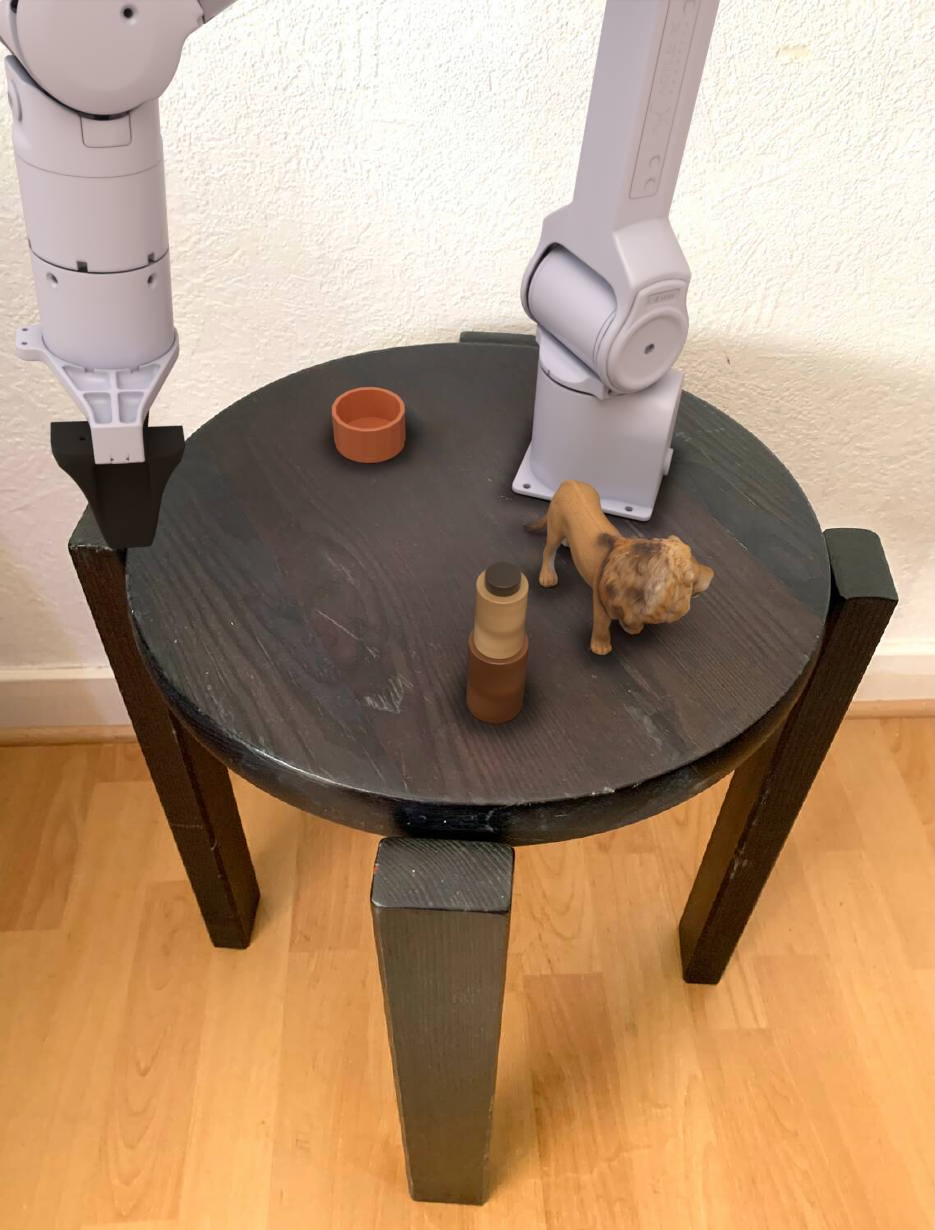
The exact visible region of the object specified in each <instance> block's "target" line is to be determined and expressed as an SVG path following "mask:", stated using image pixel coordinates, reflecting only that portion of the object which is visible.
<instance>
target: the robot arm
mask: <svg viewBox="0 0 935 1230" xmlns="http://www.w3.org/2000/svg"><path fill="white" fill-rule="evenodd" d="M238 1H239V0H0V43H1V44H2V45H3V46H4V47H5V48H6V49H7V50H8V52H9V53H10V54H8V55H6V56H4V57H3V63H4V64H3V65H4V71H5V76H6V82H7V89H6V90H7V92H6V93H7V99H8V105H9V108H10V110H11V116H12V124H11V141H12V148H13V154H14V161H15V168H16V173H17V180H18V187H19V194H20V199H21V206H22V213H23V218H24V225H25V226H24V227H25V232H26V237H27V243H28V250H29V256H30V262H31V269H32V275H33V282H34V289H35V295H36V301H37V307H38V314H39V322H40V323H39V324H25V325H21V326H19V327H17V328H16V330H15V340H14V344H15V350H16V355H17V357H18V359H20V360H22V361H25V362H26V361H27V362H40V363H43V364H45V366H47V367H48V369H49V370H50V371H51V372H52V374H53V376H54V377H55V379H57V381H58V382H59V384H60V385H61V386H62V388H63V389H64V390H65V392H66V393H67V394H68V396H69V397H70V398H71V400H72V401H73V402H74V404H75V405H76V406H77V408H78V410H79V411H80V412H81V413H82V415H83V416H84V418H85V420H72V421H71V420H70V421H68V420H67V421H51V422H50V424H49V425H50V431H49V434H50V438H49V440H50V441H49V442H50V449H51V453H52V456H53V458H54V460H55V462H56V464H57V465H58V467H59V468H60V469H61V470H62V471H63V472H65V474H67V475H68V476H69V477H70V479H72V480H73V482H75V484H76V485H77V487H79V490H80V491H81V493H82V494H83V495H84V497H85V499H86V501H87V504H88V505H89V507H90V510H91V512H92V514H93V517H94V519H95V522H96V524H97V528H99V529H98V530H99V531H100V534H101V536H102V538H103V540H104V542H105V543H106V545H107V547H108V548H109V549H111V550H117V549H118V550H119V549H133V548H148V547H151V546H152V545H153V543H154V540H155V537H156V533H157V530H158V529H157V528H158V523H159V517H160V512H161V511H160V510H161V505H162V499H163V495H164V492H165V489H166V487H167V484H168V482H169V480H170V478H171V476H172V474H173V473H174V471H175V470H176V468H177V467H178V466H179V464H181V462H182V460H183V456H184V453H185V450H186V440H185V433H184V426H183V425H181V424H180V425H155V426H153V425H152V426H151V425H150V426H149V422H150V409H151V407H152V406H153V404H154V402H155V400H156V399H157V397H158V395H159V393H160V391H161V390H162V388H163V386H164V384H165V382H166V380H167V379H168V377H169V376H170V373H171V372H172V370H173V368H174V366H175V364H176V363H177V361H178V359H179V356H180V350H181V349H180V336H179V332H178V330H177V328H176V326H175V324H174V323H175V322H174V306H173V305H174V304H173V292H172V276H171V275H172V274H171V255H170V240H169V239H170V238H169V221H168V206H167V189H166V173H165V172H166V171H165V157H164V156H165V155H164V140H163V136H162V132H161V118H160V100H159V98H160V97H161V96H163V95H164V93H165V92H166V91H167V89H168V87H169V86H170V84H171V83H172V81H173V80H174V77H175V75H176V73H177V70H178V67H179V66H180V62H181V57H182V53H183V48H184V45H185V42H186V41H187V39H188V37H189V36H191V34H194V33H195V32H196V31H197V30H199V29H200V28H203V26H204V25H206V24H207V23H209V22H210V21H211V20H213V19H214V18H215V17H218V15H220V14H221V13H222V12H224V11H225V10H227V9H228V8H229V7H231V6H232V5H234V4H235V3H236V2H238ZM720 1H721V0H606V1H605V6H604V12H603V17H602V23H601V30H600V36H599V42H598V48H597V53H596V54H597V55H596V58H595V59H596V60H595V64H594V65H595V66H594V72H593V77H592V83H591V90H590V94H589V101H588V106H587V112H586V117H585V125H584V129H583V130H584V131H583V135H582V141H581V142H582V143H581V147H580V154H579V159H578V165H577V171H576V176H575V184H574V189H573V193H572V194H573V195H572V201H570V203H568V204H565V205H564V206H562V207H561V206H560V207H559V208H558V209H555V210H553V211H552V212H550V213H549V214H547V215H546V216H544V218H543V220H542V227H541V232H540V238H539V241H538V244H537V247H536V249H535V251H534V254H533V255H532V257H531V258H530V260H529V262H528V264H527V266H526V268H525V270H524V273H523V275H522V279H521V282H520V288H519V289H520V290H519V294H520V295H519V297H520V303H521V306H522V309H523V312H524V313H525V314H526V316H527V317H528V318H529V319H530V320H532V321H533V322H534V323H536V329H535V342H536V343H537V344H538V346H539V352H538V362H537V375H536V376H537V377H536V387H535V397H534V398H535V399H534V409H533V410H534V411H533V421H532V432H531V433H532V434H531V441H530V443H529V445H528V447H527V450H526V452H525V454H524V456H523V459H522V461H521V464H520V466H519V468H518V470H517V473H516V475H515V477H514V479H513V481H512V484H511V485H512V486H511V489H512V491H513V492H514V493H516V494H519V495H524V496H528V497H532V498H537V499H542V500H546V501H550V502H551V500H552V497H553V495H554V494H555V492H556V491H557V490H558V488H559V486H560V485H561V483H562V482H563V481H565V480H569V479H572V480H575V481H577V482H584V483H587V484H589V485H590V486H592V487H593V488H594V489H595V490H596V491H597V492H598V494H599V497H600V503H601V508H602V511H603V513H604V514H609V515H614V516H617V517H621V518H622V517H623V518H626V519H630V520H631V519H632V520H634V521H635V520H636V521H641V522H647V521H649V520H650V519H651V517H652V514H653V512H654V507H655V505H656V504H655V503H656V500H657V497H658V493H659V490H660V487H661V484H662V480H663V476H668V474H669V471H670V466H671V464H672V463H671V462H672V458H673V454H674V449H673V448H671V445H672V439H673V435H674V431H675V426H676V420H677V416H678V412H679V408H680V403H681V398H682V397H681V396H682V392H683V388H684V383H685V382H684V381H685V376H686V373H685V372H683V371H681V370H678V369H676V368H673V366H674V365H675V364H676V362H677V360H678V359H679V357H680V355H681V354H682V351H683V349H684V347H685V344H686V342H687V338H688V335H689V328H690V316H689V312H688V306H687V300H688V299H687V298H688V297H687V296H688V291H689V287H690V283H691V279H692V272H691V269H690V265H689V263H688V261H687V259H686V256H685V253H684V252H683V249H682V247H681V245H680V243H679V241H678V238H677V236H676V234H675V231H674V230H673V227H672V224H671V221H670V218H669V217H670V211H671V208H672V203H673V200H674V195H675V191H676V187H677V182H678V178H679V174H680V170H681V165H682V161H683V157H684V153H685V148H686V146H687V145H686V144H687V140H688V136H689V132H690V128H691V125H692V119H693V116H694V111H695V107H696V103H697V98H698V94H699V90H700V87H701V82H702V77H703V73H704V69H705V65H706V60H707V56H708V53H709V49H710V44H711V40H712V37H713V31H714V27H715V23H716V19H717V14H718V11H719V6H720Z"/></svg>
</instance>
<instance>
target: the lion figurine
mask: <svg viewBox="0 0 935 1230" xmlns="http://www.w3.org/2000/svg"><path fill="white" fill-rule="evenodd" d="M545 526H546V533H547V534H546V545H545V547H544V548H543V551H542V565H541V568H540V572H539V577H538V582H539V585H541V586H542V587H544V588H551V587H554V586H556V585H557V584H558V580H559V577H558V574H557V573H556V570H555V558H556V556H557V550H558V549H559V547H560V546H561V545H563V546H564V547H565V548H566V547H567V548H569V549H570V553H571V557H572V560H573V563H574V565H575V568H576V569H577V571H578V574H579V575H580V576H581V578H582V579H583V580H584V581H585V583H586V584H587V585H588V586H589V587H590V588H591V589H592V592H593V593H592V603H593V605H592V608H593V613H592V614H593V615H592V619H593V624H592V633H591V639H590V650H591V652H592V653H594V654H595V655H598V656H605V655H607V654H609V653H610V652H611V651H612V649H613V648H612V644H611V640H612V637H611V634H610V633H611V632H610V626H611V623H612V620H618V621H619V625H620V626H621V628H622V629H623V630H624V631H625V632H626V633H628V634H630V635H637V634H640V633H641V631H642V630H643V629H644V625H648V624H649V625H650V624H652V625H653V624H654V625H658V624H662V623H667V624H671V623H674V622H676V621H679V620H680V619H681V618H683V617H684V616H685V615H686V614H688V612H689V611H690V610H691V599H697V597H698V596H699V595H700V593H701V592H705V591H707V589H708V588H709V587H710V584H711V582H712V580H713V578H714V576H715V575H714V571H713V569H712V568H711V567H710V566H706V565H703V564H701V563H699V562H698V561H697V559H696V558H695V557H694V556H693V555H692V552H691V551H692V549H691V547H690V546H689V545H688V544H686V543H684V542H683V541H682V540H681V539H680V537H679V536H676V535H673V534H672V535H669V536H668V538H657V537H654V538H652V539H651V540H650V539H646V538H632V537H629V538H627V537H624V536H623V535H622V534H621V533H620V531H619V530H618V529H617V528H616V526H614V525H613V524H612V523H611V522H610V520H609V519H608V518H607V517H606V515H605V513H604V512H603V511H602V508H601V503H600V497H599V494H598V492H597V491H596V490H595V489H594V488H593V487H592V486H590V485H589V484H587V483H584V482H577V481H575V480H572V479H569V480H565V481H563V482H562V483H561V485H560V486H559V488H558V490H557V491H556V492H555V494H554V495H553V497H552V500H551V501H550V503H549V506H548V510H547V512H546V514H545V515H544V516H542V517H541V518H539V519H537V520H529V521H525V522H522V527H524V528H525V530H526V531H528V532H536V531H539V530H541V529H543V528H544V527H545Z"/></svg>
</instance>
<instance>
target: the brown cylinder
mask: <svg viewBox="0 0 935 1230" xmlns="http://www.w3.org/2000/svg"><path fill="white" fill-rule="evenodd" d="M467 639H468V640H467V666H466V671H467V672H466V693H465V694H466V697H465V698H466V699H465V701H466V706H467V709H468V711H469V712H470V713H471V714H472V716H474V717H475V718H476V719H477V720H480V721H482V722H484V723H488V724H494V725H495V724H504V723H507V722H509V721H511V720H514V719H515V718H516V717H517V716H518V715H519V714H520V712H521V711H522V709H523V706H524V697H525V687H526V676H527V667H528V659H529V658H528V656H529V649H530V648H529V646H530V639H529V636H528V634H527V633H526V630H524V641H523V646H522V648H521V650H520V651H519V652H518V653H517V654H516V655H514V656H512V657H510V658H506V659H493V658H489V657H487V656H485V655H483V654H482V653H481V652H480V651H479V650H478V649H477V648H476V646H475V643H474V628H473V629H471V631H470V633H469V636H468V638H467Z"/></svg>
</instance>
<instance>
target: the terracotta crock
mask: <svg viewBox="0 0 935 1230" xmlns="http://www.w3.org/2000/svg"><path fill="white" fill-rule="evenodd" d="M405 408H406V407H405V402H404V401H403V400H402V398H401V397H400V396H399V395H398V394H396V393H395V392H393V391H391V390H389V389H386V388H381V387H377V386H376V387H375V386H365V387H364V386H363V387H357V388H353V389H350V390H347V391H346V392H344V393H342V394H341V395H339V396H337V398H336V399H335V400H334V402H333V403H332V404H331V417H332V418H331V419H332V429H333V438H334V439H333V441H334V445H335V448H336V450H337V451H338V452H339V454H340V455H341V456H343V457H344V458H345V459H348V460H350V461H353V462H356V463H362V464H376V463H382V462H385V461H388V460H390V459H392V458H395V457H396V456H397V455H398V454H400V452H401V451H402V450H403V449H404V447H405V445H406V437H407V436H406V409H405Z"/></svg>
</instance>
